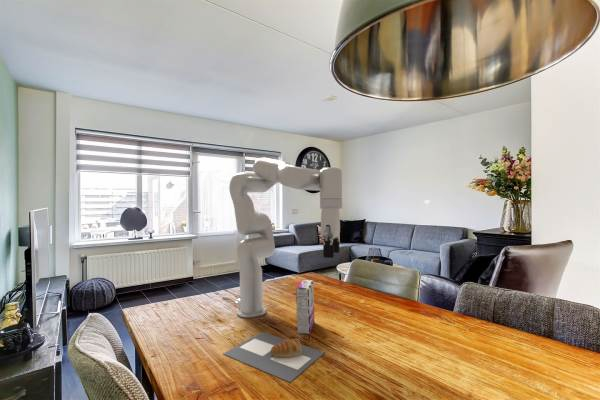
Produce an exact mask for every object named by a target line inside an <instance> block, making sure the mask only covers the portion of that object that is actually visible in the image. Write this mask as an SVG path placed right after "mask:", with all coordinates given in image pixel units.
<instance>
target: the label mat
mask: <svg viewBox="0 0 600 400" xmlns="http://www.w3.org/2000/svg"><path fill="white" fill-rule="evenodd" d="M284 340H287V339H286V338H282V337H279V336H276V335H274V334H269V333H268V332H264V331H261V332H259V333H257V334H256V335H253V336H252V337H249V339H247V340H245V341H243V342H242V343H239V344H237V345H236V346H234V347H232V348H230V349H228V350H226V351H225V352H223V353H222V354H223V355H224V356H226V357H228V358H231V359H234V360H235V361H238V362H240V363H243V364H245V365H248V366H250V367H252V368H255V369H257V370H260V371H262V372H264V373H266V374H268V375H271V376H273V377H276V378H278V379H280V380H282V381H285V382H287V383H290V384H291V383H292V382H293V381H294V380H296V378H297V377H298V376H300V375H301V374H302V373H304V371H306V369H308V368H309V367H310V366H311V365H312V364H314V362H316V361H317V360H318V359H319V358H320V357H322V356H323V355H324V354H325V351H323V350H319V349H316V348H314V347H310V346H307V345H304V344H301V343H300V345H301V348H302V354H301V355H300V356H298V357H292V358H277V357H274V356H273V355H272V354H271V349H272V347H273V346H275V345H277V344H278V343H281V342H283V341H284Z"/></svg>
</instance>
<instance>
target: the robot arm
mask: <svg viewBox="0 0 600 400" xmlns="http://www.w3.org/2000/svg"><path fill="white" fill-rule="evenodd" d="M252 169H253V172H245V171H244V172H238V173H236V174H234V175H233V176H232V177H231V178H230V182H229V187H228V188H229V193H230V194H229V195H230V198H231V201H232V203H233V204H232V205H233V208H234V216H235V223H236V227H237V231H238V234H239V235H241V236H254V235H256V237H250V238H249V237H248V238H245V239H243V240H241V241H239V243H238V244H237V246H236V254H237V258H238V267H239V298H238V299H237V300H236V301H234V302H235V303H234V305H236V306H238V308H237V309H236V315H237V316H238V317H241V318H256V317H260V316H263V315H264V314H266V313H267V307H266V306H264V304H263V268H262V266H261V264H260V263H259V260H261V259H267V258H270V257H272V256H273V254H275V253H274V252H275V249H276V246H275V245H276V243H275V238H274V231H273V227H272V221H271V219H270V217H269V216H268V215H267V214H265V213H262V212H258V213H257V212H256V210H255V204H254V202H253V200H252V198H251V197H250V195H249V194H248V193H261V194H262V193H265V192H268V191H269V190H270V189H271V188H272V187H274V186H275V185H276V184H278V183H279V184H280V185H282V186H284V187H288V188H290V189H291V188H292V189H295V190H300V191H319V209H320V210H321V213H320V238H321V239H323V242H322V244H323V245H322V246H323V248H322V249H323V253H322V254H323V258H329V259H333V258H334V253H336V254H338V253H340V237H339V236H341V235H340V233H341V219H340V218H341V216H340V213H341V212H340V209H343V173H342V169H341V168H339V167H324V168H321V169H316V168H308V167H307V168H306V167H302V166H301V167H300V166H295V165H291V164H290V163H289V162H287V161H284V160H283V161H282V160H280V159H275V158H271V157H260V158H258V159H256V160H254V163H253V165H252Z"/></svg>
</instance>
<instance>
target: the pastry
mask: <svg viewBox="0 0 600 400" xmlns="http://www.w3.org/2000/svg"><path fill="white" fill-rule="evenodd" d="M300 341H301V340H300V339H299V338H297V337H296V338H294V339H293V338H292V339H286V340H284V341H283V342H281V343H278V344H277V345H275V346H273V347H272V349H271V354H272V355H273V356H274V357H277V358H292V357H298V356H300V355H301V354H302V348H301V345H302V344H301V342H300ZM300 344H301V345H300Z"/></svg>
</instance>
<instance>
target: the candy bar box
mask: <svg viewBox="0 0 600 400" xmlns="http://www.w3.org/2000/svg"><path fill="white" fill-rule="evenodd" d="M314 286H315V285H314V280H312V279H309V280H308V279H301V281H300V282H299V284H298V285H297V286H296V288H295V296H296V297H295V298H296V299H295V300H296V326H297V327H296V329H297V330H296V331H297V333H296V334H301V335H310V334H311V332H312V330H313V327H314V324H315V297H314V295H315V293H314V292H315V291H314V290H315V289H314Z"/></svg>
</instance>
